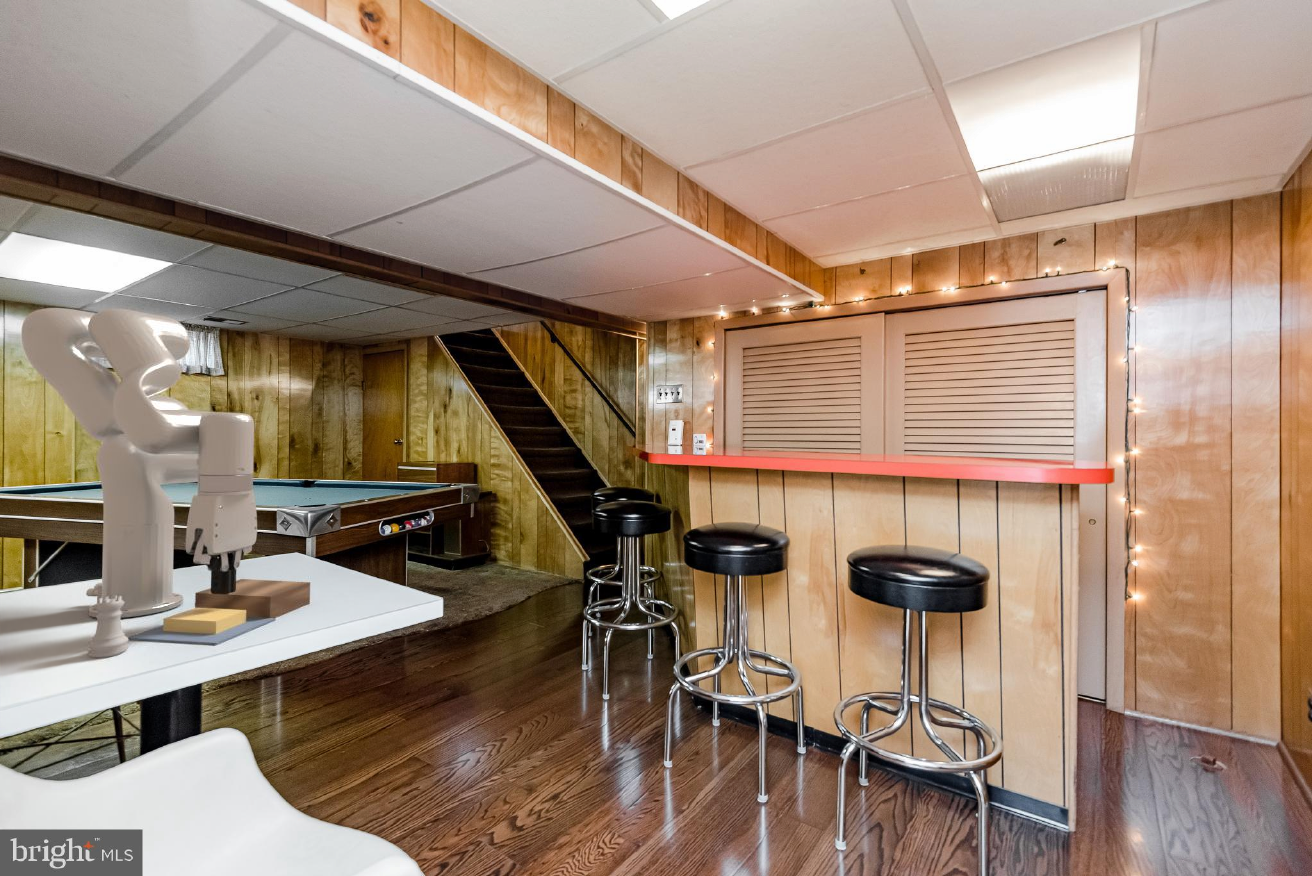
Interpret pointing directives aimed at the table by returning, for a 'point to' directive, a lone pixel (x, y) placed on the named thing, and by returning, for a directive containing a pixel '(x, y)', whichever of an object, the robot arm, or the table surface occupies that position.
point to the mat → (201, 638)
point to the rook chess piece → (108, 629)
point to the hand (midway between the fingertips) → (223, 592)
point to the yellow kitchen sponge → (204, 620)
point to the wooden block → (258, 597)
